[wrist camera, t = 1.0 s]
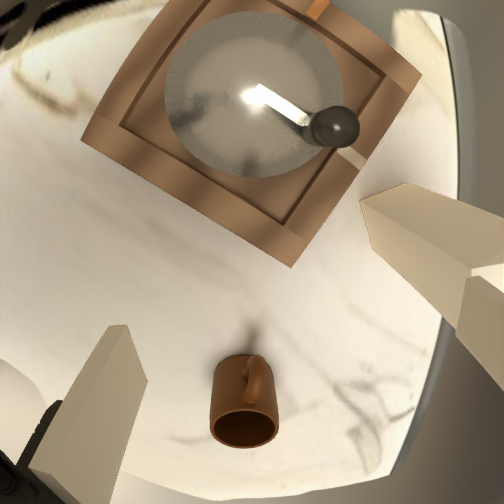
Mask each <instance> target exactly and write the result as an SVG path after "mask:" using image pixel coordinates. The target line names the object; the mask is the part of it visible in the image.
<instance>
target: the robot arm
mask: <svg viewBox="0 0 504 504" xmlns="http://www.w3.org/2000/svg"><path fill="white" fill-rule="evenodd" d="M455 336H456V337H457V338H458V339H459V340H460V341H461V342H462V343H463V345H464V346H465V347H466V348H467V349H468V350H469V351H470V352H471V354H472V355H473V356H474V357H475V358H476V359H477V360H478V361H479V363H480V364H481V365H482V366H483V367H484V368H485V369H486V371H487V372H488V373H489V374H490V375H491V377H492V378H493V379H494V380H495V381H496V383H497V384H498V385H499V386H500V387H501V388H502V390H503V391H504V293H503V292H502V291H500V290H499V289H498V288H496V287H495V286H493V285H492V284H491V283H489V282H488V281H486V280H485V279H484V278H482V277H481V276H479V275H478V276H474V277H470V278H466V282H465V288H464V294H463V300H462V305H461V310H460V315H459V320H458V325H457V329H456V334H455ZM147 383H148V380H147V378H146V375H145V373H144V370H143V368H142V365H141V362H140V360H139V357H138V355H137V352H136V349H135V347H134V344H133V341H132V338H131V335H130V333H129V330H128V327H127V325H116V326H109V327H108V328H107V330H106V331H105V333H104V334H103V336H102V338H101V339H100V341H99V342H98V344H97V345H96V347H95V349H94V350H93V352H92V353H91V355H90V357H89V358H88V360H87V361H86V363H85V365H84V366H83V368H82V370H81V371H80V373H79V375H78V376H77V378H76V380H75V381H74V383H73V385H72V386H71V388H70V390H69V392H68V393H67V395H66V397H65V399H64V400H57V401H56V402H54V403H53V404H52V405H51V406H50V407H49V408H48V409H47V410H46V412H45V413H44V415H43V417H42V419H41V420H40V424H38V426H37V427H36V429H35V433H33V434H32V436H31V438H30V440H29V441H28V443H27V445H26V447H25V449H24V451H23V453H22V454H21V456H20V458H19V460H18V462H17V464H16V465H14V464H13V462H12V461H10V459H9V458H8V457H7V456H6V455H5V453H4V452H2V451H1V450H0V504H110V500H111V496H112V493H113V489H114V486H115V482H116V479H117V476H118V472H119V469H120V466H121V462H122V459H123V456H124V453H125V449H126V446H127V443H128V440H129V437H130V434H131V430H132V427H133V424H134V421H135V418H136V415H137V412H138V409H139V406H140V403H141V400H142V397H143V394H144V391H145V389H146V386H147Z"/></svg>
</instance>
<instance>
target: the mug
mask: <svg viewBox="0 0 504 504" xmlns="http://www.w3.org/2000/svg"><path fill="white" fill-rule="evenodd" d="M278 430H279V414H278V406H277V399H276V391H275V385H274V378H273V374H272V371H271V369H270V367H269V366H268V365H267V364H266V362H265V360H264V358H263V357H262V356H260V355H253V356H247V355H239V356H234V357H231V358H228V359H226V360H225V361H223V362H222V363H221V364H220V365H219V366H218V367H217V369H216V371H215V373H214V378H213V387H212V395H211V406H210V431H211V434H212V435H213V437H214V438H215V439H216V440H217V441H219V442H220V443H222V444H224V445H226V446H229V447H234V448H242V449H245V448H255V447H259V446H262V445H264V444H266V443H268V442H270V441H271V440H272V439H273V438H274V437H275V436H276V435H277V433H278Z"/></svg>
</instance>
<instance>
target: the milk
mask: <svg viewBox="0 0 504 504" xmlns="http://www.w3.org/2000/svg"><path fill="white" fill-rule="evenodd" d="M360 205H361V208H362V212H363V215H364V218H365V222H366V225H367V229H368V232H369V236H370V240H371V243H372V247H373V250H374V251H375V252H376V253H377V254H378V255H379V256H380V257H381V258H383V259H384V260H385V261H386V262H387V263H388V264H389V265H390V266H391V267H392V268H393V269H395V270H396V271H397V272H398V273H399V274H400V275H401V276H402V277H403V278H404V279H405V280H406V281H407V282H408V283H409V284H411V285H412V286H413V287H414V288H415V289H416V290H417V291H418V292H419V293H420V294H421V295H422V296H423V297H424V298H425V299H426V300H427V301H428V302H429V303H430V304H431V305H432V306H433V307H434V308H435V309H436V310H437V311H438V312H439V313H440V314H441V315H442V316H443V317H444V318H445V319H446V320H447V321H448V322H449V323H450V324H451V325H452V326H453V327H454V328H455V329H457V325H458V320H459V315H460V310H461V305H462V300H463V294H464V288H465V282H466V278H470V277H474V276H478V275H479V276H481V277H482V278H484V279H485V280H486V281H488V282H489V283H491V284H492V285H493V286H495V287H496V288H498V289H499V290H500V291H502V292H503V293H504V218H501V217H499V216H497V215H494V214H492V213H489V212H486V211H484V210H482V209H479V208H476V207H474V206H471V205H469V204H466V203H463V202H460V201H458V200H455V199H452V198H449V197H447V196H444V195H441V194H438V193H435V192H432V191H429V190H426V189H423V188H420V187H417V186H414V185H411V184H407V183H404V184H401V185H399V186H396V187H394V188H391V189H388V190H386V191H383V192H381V193H378V194H376V195H373V196H371V197H368V198H366V199H363V200H360Z"/></svg>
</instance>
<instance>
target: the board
mask: <svg viewBox="0 0 504 504" xmlns="http://www.w3.org/2000/svg"><path fill="white" fill-rule="evenodd" d="M245 11H262V12H270V13H275V14H278V15H282V16H285V17H288V18H290V19H293V20H295V21H297V22H299V23H300V24H302V25H304V26H305V27H307V28H308V29H310V30H311V31H312V32H314V33H315V34H316V35H317V36H318V37H319V38H320V39H321V40H322V41H323V42H324V43H325V45H326V46H327V47H328V48H329V50H330V51H331V53H332V55H333V56H334V58H335V60H336V62H337V64H338V67H339V70H340V73H341V76H342V81H343V87H344V102H343V106H344V107H347V108H349V109H350V110H352V111H353V112H354V113H355V115H356V116H357V118H358V120H359V123H360V133H359V136H358V138H357V140H356V141H355V142H354V143H353V144H352V145H350V146H349V147H346V148H333V147H324V148H323V149H322V150H321V151H320V152H319V153H318V154H317V155H316V156H315V157H313V158H312V159H311V160H309V161H308V162H306V163H305V164H303V165H301V166H300V167H298V168H296V169H293V170H291V171H288V172H286V173H283V174H279V175H275V176H269V177H258V178H249V177H240V176H235V175H231V174H227V173H224V172H221V171H219V170H216V169H214V168H212V167H210V166H208V165H206V164H205V163H203V162H202V161H200V160H199V159H197V158H196V157H195V156H194V155H193V154H191V153H190V152H189V151H188V150H187V149H186V148H185V146H184V145H183V144H182V143H181V142H180V140H179V139H178V137H177V136H176V134H175V132H174V131H173V128H172V126H171V124H170V122H169V119H168V115H167V112H166V107H165V100H164V88H165V81H166V76H167V72H168V69H169V66H170V64H171V62H172V59H173V57H174V55H175V54H176V52H177V51H178V49H179V48H180V46H181V45H182V44H183V43H184V42H185V40H186V39H187V38H188V37H189V36H190V35H191V34H193V33H194V32H195V31H196V30H197V29H199V28H200V27H202V26H203V25H205V24H207V23H208V22H210V21H212V20H214V19H217V18H219V17H222V16H225V15H228V14H232V13H237V12H245ZM421 76H422V74H421V73H420V72H419V71H418V70H417V69H416V68H415V67H413V66H412V65H411V64H410V63H409V62H408V61H407V60H406V59H405V58H403V57H402V56H401V55H400V54H399V53H398V52H396V51H395V50H394V49H393V48H392V47H390V46H389V45H388V44H387V43H386V42H384V41H383V40H382V39H381V38H379V37H378V36H377V35H376V34H374V33H373V32H371V31H370V30H369V29H368V28H366V27H365V26H364V25H362V24H361V23H359V22H358V21H357V20H355V19H354V18H353V17H351V16H350V15H348V14H347V13H345V12H344V11H342V10H341V9H340V8H338V7H337V6H335V5H333V4H332V3H330V2H329V1H327V0H169V1H168V2H167V4H166V5H165V6H164V7H163V9H162V10H161V11H160V12H159V14H158V15H157V16H156V18H155V19H154V20H153V22H152V23H151V24H150V26H149V27H148V28H147V30H146V31H145V32H144V34H143V35H142V36H141V38H140V39H139V41H138V42H137V44H136V45H135V46H134V48H133V49H132V51H131V52H130V54H129V55H128V57H127V58H126V60H125V61H124V63H123V65H122V66H121V68H120V69H119V71H118V72H117V74H116V76H115V77H114V79H113V81H112V82H111V84H110V86H109V87H108V89H107V91H106V92H105V94H104V96H103V98H102V99H101V101H100V103H99V105H98V107H97V108H96V110H95V112H94V114H93V116H92V118H91V120H90V122H89V124H88V126H87V127H86V129H85V131H84V133H83V135H82V138H81V141H82V142H84V143H86V144H87V145H89V146H91V147H92V148H94V149H96V150H97V151H99V152H101V153H102V154H104V155H106V156H107V157H109V158H111V159H112V160H114V161H116V162H117V163H119V164H121V165H122V166H124V167H126V168H127V169H129V170H131V171H132V172H134V173H136V174H137V175H139V176H141V177H142V178H144V179H146V180H147V181H149V182H151V183H152V184H154V185H155V186H157V187H159V188H160V189H162V190H164V191H165V192H167V193H169V194H170V195H172V196H174V197H175V198H177V199H179V200H180V201H182V202H184V203H185V204H187V205H188V206H190V207H192V208H193V209H195V210H197V211H198V212H200V213H202V214H203V215H205V216H207V217H208V218H210V219H211V220H213V221H215V222H216V223H218V224H220V225H221V226H223V227H225V228H226V229H228V230H230V231H231V232H233V233H234V234H236V235H238V236H239V237H241V238H243V239H244V240H246V241H248V242H249V243H251V244H252V245H254V246H256V247H257V248H259V249H261V250H262V251H264V252H265V253H267V254H269V255H270V256H272V257H274V258H275V259H277V260H278V261H280V262H282V263H283V264H285V265H287V266H288V267H290V268H291V267H292V266H293V265H294V263H295V262H296V261H297V259H298V258H299V257H300V255H301V254H302V252H303V251H304V250H305V248H306V247H307V245H308V244H309V243H310V241H311V240H312V239H313V237H314V236H315V234H316V233H317V232H318V230H319V229H320V227H321V226H322V225H323V223H324V222H325V220H326V219H327V218H328V216H329V215H330V213H331V212H332V210H333V209H334V208H335V206H336V205H337V203H338V202H339V200H340V199H341V198H342V196H343V195H344V193H345V192H346V190H347V189H348V187H349V186H350V185H351V183H352V182H353V180H354V179H355V177H356V176H357V174H358V173H359V171H360V170H361V168H362V167H363V166H364V164H365V163H366V161H367V160H368V158H369V157H370V155H371V154H372V152H373V151H374V149H375V148H376V146H377V145H378V143H379V142H380V140H381V139H382V137H383V136H384V134H385V133H386V131H387V130H388V128H389V127H390V125H391V123H392V122H393V120H394V119H395V117H396V116H397V114H398V113H399V111H400V110H401V108H402V106H403V105H404V103H405V102H406V100H407V99H408V97H409V95H410V94H411V92H412V91H413V89H414V88H415V86H416V84H417V83H418V81H419V80H420V78H421Z"/></svg>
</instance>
